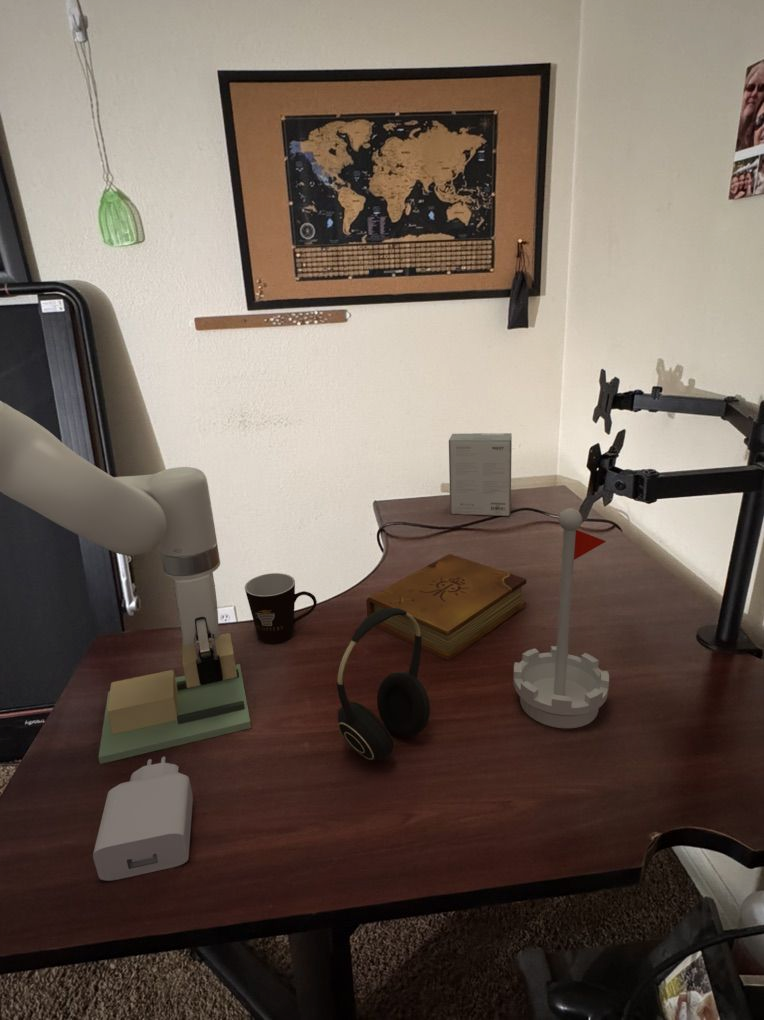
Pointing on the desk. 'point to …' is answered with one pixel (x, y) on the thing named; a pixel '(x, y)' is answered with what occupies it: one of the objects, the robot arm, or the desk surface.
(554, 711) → the flag stand
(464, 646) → the diary
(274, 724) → the desk surface
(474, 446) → the hard drive box
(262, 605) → the coffee mug
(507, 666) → the desk surface
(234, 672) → the yellow block
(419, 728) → the headphones
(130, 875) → the charger
